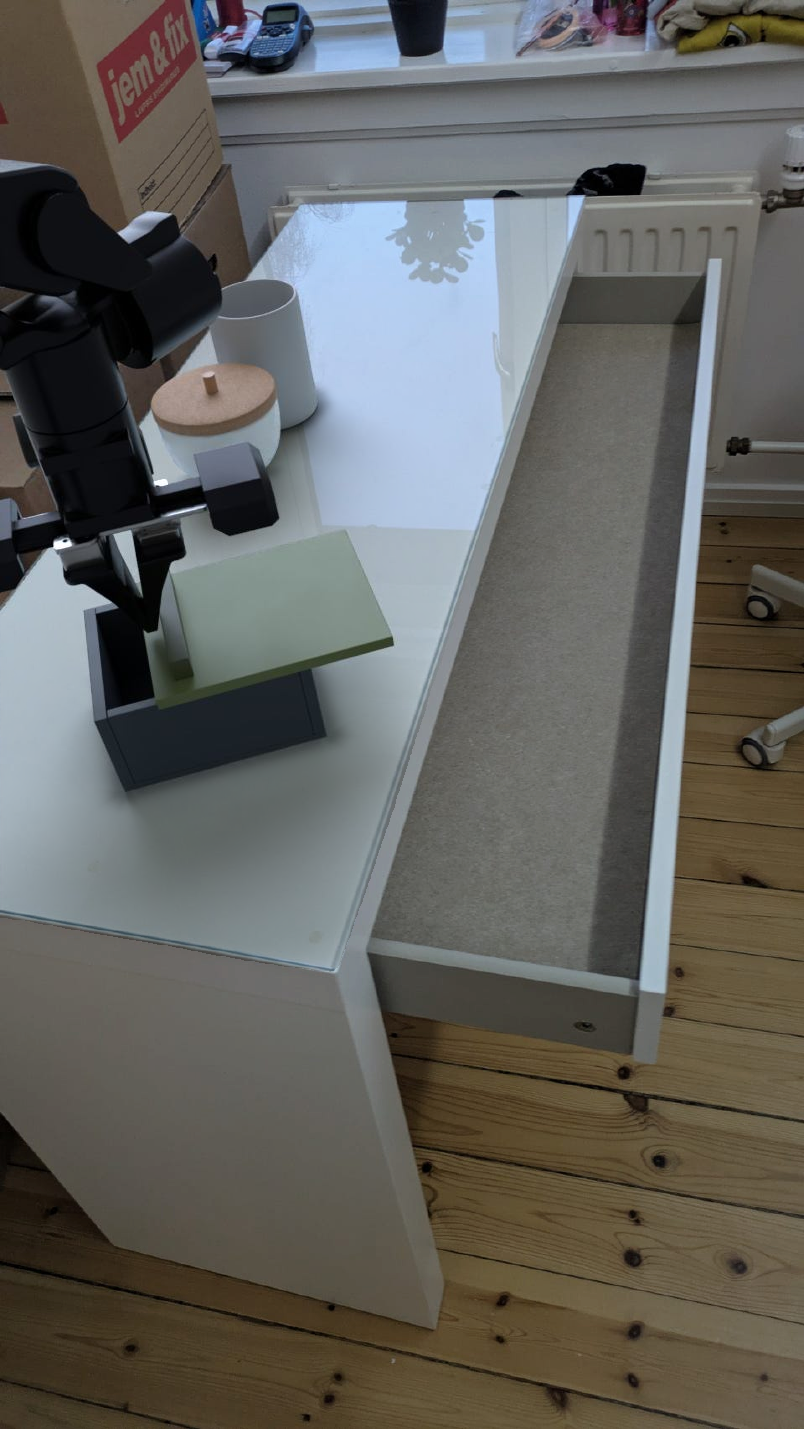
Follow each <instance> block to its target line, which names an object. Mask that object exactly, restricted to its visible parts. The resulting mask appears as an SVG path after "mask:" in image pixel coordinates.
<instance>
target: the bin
mask: <svg viewBox="0 0 804 1429" xmlns="http://www.w3.org/2000/svg"><path fill="white" fill-rule="evenodd" d="M83 619H84V630H85V641H86V651H87V662H88V672H89V683H90V692H91V702H92V703H91V704H92V713H93V714H92V715H93V723H94V725H95V727H96V729H97V731H98V734H99V736H100V739H101V740H102V743H103V745H104V748H105V750H106V752H107V755H108V757H109V759H110V762H111V764H112V766H113V768H114V771H115V773H116V775H117V777H118V780H119V782H120V784H121V786H122V789H123V791H124V792H125V793H126V792H130V791H133V790H137V789H141V788H145V787H148V786H152V785H156V784H159V783H163V782H166V781H170V780H174V779H178V778H181V777H185V776H189V775H192V774H196V773H199V772H202V771H203V772H204V771H207V770H210V769H214V768H219V767H222V766H225V765H228V764H232V763H236V762H239V761H243V760H247V759H251V758H254V757H258V756H261V755H264V754H268V753H269V754H270V753H272V752H276V751H279V750H283V749H287V748H290V747H294V746H298V745H301V744H305V743H309V742H313V741H316V740H319V739H323V738H326V737H327V736H328V735H327V731H326V727H325V723H324V718H323V714H322V709H321V705H320V700H319V695H318V692H317V688H316V682H315V679H314V674H313V668H311V669H307V670H304V671H300V672H296V673H293V674H289V675H285V676H282V677H278V678H274V679H271V680H267V681H263V682H260V683H256V684H252V685H249V686H245V687H242V688H238V689H234V690H231V691H227V692H223V693H220V694H216V695H212V696H209V697H205V698H201V699H198V700H194V701H190V702H187V703H183V704H179V705H176V706H172V707H168V708H165V709H161V710H159V709H158V706H157V704H156V701H155V695H154V690H153V684H152V678H151V672H150V667H149V661H148V655H147V650H146V644H145V638H144V632H143V629H142V628H141V627H140V626H139V625H137V624H136V623H135V622H134V621H133V620H132V619H131V618H130V617H129V616H127V615H126V614H125V613H124V612H123V611H122V610H121V609H119V608H118V607H117V606H116V605H115V604H114V603H112V602H111V603H110V602H109V603H107V604H103V605H98V606H95V607H91V608H86V609H84V610H83Z"/></svg>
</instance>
